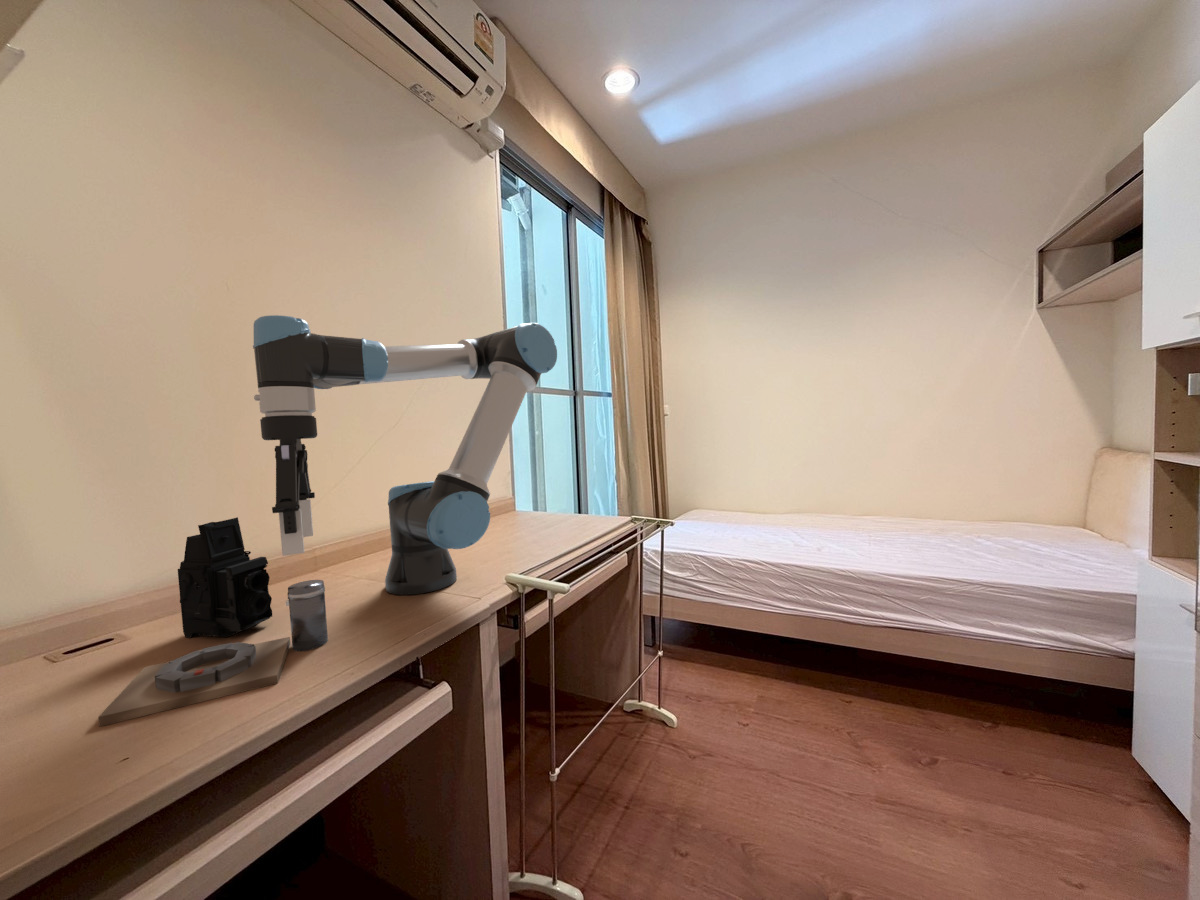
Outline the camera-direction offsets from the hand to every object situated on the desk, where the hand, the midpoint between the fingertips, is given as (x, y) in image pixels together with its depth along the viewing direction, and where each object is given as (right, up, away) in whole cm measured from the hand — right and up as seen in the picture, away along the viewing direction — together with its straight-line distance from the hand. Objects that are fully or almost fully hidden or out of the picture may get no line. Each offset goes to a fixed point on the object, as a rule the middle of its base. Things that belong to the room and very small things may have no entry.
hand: (299, 544), depth 76 cm
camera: (-17, -17, +8) cm, 26 cm away
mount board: (-7, -17, -9) cm, 21 cm away
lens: (+1, -17, +1) cm, 17 cm away
